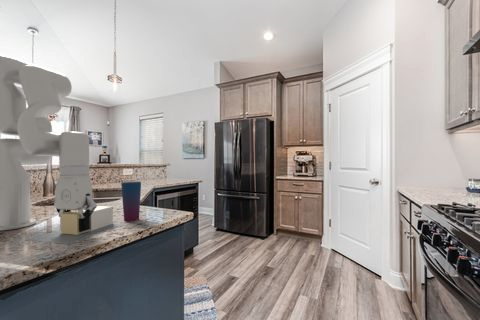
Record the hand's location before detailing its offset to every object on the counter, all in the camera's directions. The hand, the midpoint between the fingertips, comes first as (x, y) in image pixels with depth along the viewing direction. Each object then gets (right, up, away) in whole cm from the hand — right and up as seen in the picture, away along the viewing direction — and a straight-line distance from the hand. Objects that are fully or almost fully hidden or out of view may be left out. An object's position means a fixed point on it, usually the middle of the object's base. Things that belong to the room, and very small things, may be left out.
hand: (75, 229), depth 70 cm
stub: (0, -1, 0) cm, 1 cm away
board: (0, -2, +2) cm, 3 cm away
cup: (+10, -2, +15) cm, 18 cm away
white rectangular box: (+2, -1, +7) cm, 7 cm away
